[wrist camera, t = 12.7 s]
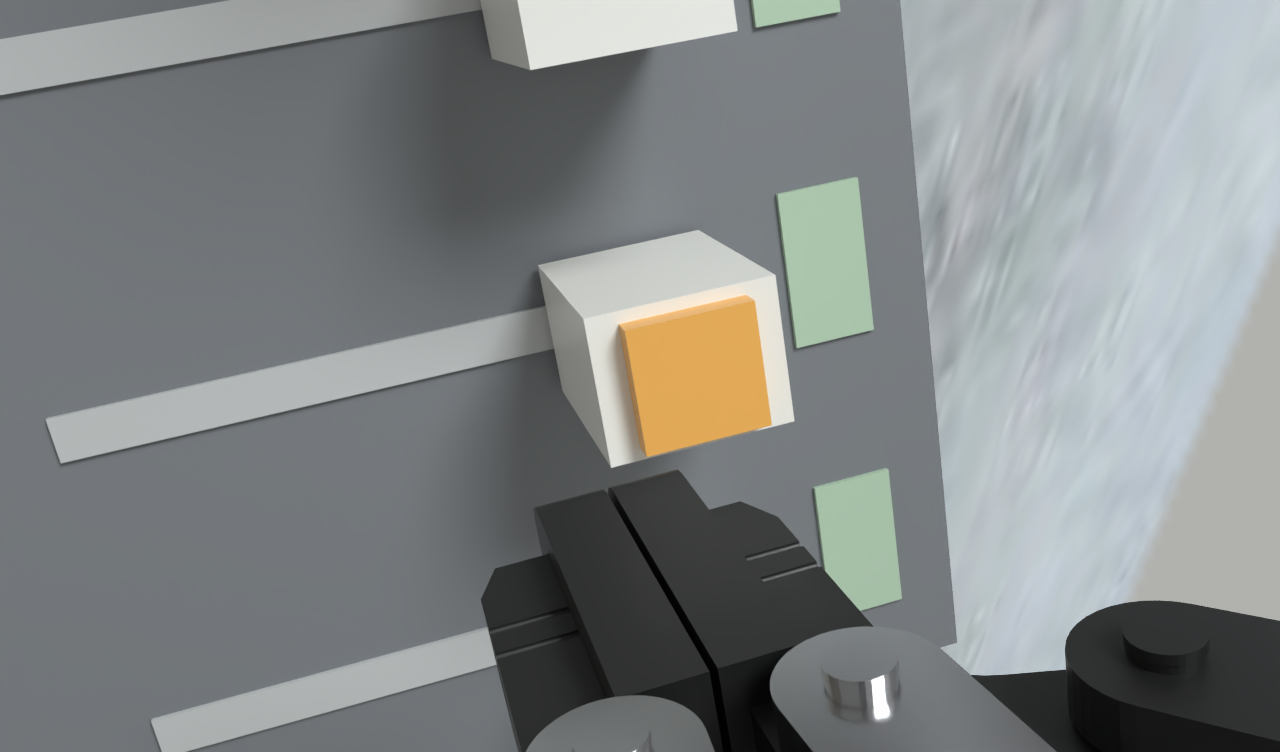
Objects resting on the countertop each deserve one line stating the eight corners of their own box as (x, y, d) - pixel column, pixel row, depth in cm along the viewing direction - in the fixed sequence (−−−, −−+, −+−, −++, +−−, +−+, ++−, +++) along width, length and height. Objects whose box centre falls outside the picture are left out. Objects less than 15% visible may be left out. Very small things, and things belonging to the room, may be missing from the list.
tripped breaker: (538, 265, 21) (588, 325, 17) (698, 229, 22) (785, 280, 18) (562, 391, 22) (617, 477, 18) (717, 354, 23) (804, 429, 19)
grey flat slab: (-346, -73, 19) (-460, -88, 17) (808, -242, 23) (878, -278, 20) (21, 830, 25) (-18, 935, 22) (896, 581, 29) (959, 645, 26)
